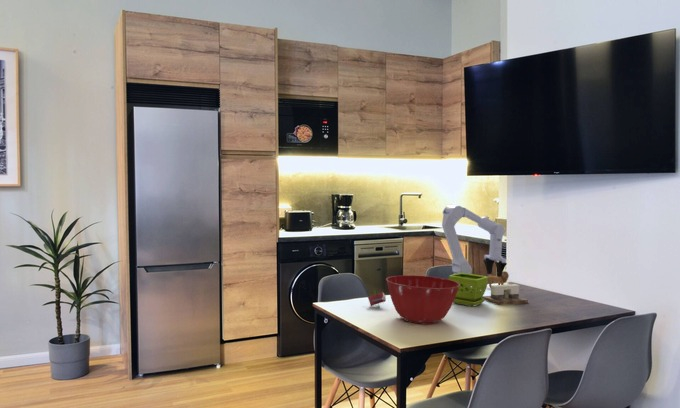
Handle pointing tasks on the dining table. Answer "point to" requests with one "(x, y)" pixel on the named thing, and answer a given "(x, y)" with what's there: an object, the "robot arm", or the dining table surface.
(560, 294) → the dining table surface
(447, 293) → the mixing bowl
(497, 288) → the cream bar
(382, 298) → the geometric puzzle
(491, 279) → the lion figurine
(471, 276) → the flower pot
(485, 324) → the dining table surface
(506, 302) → the brown rectangular board
